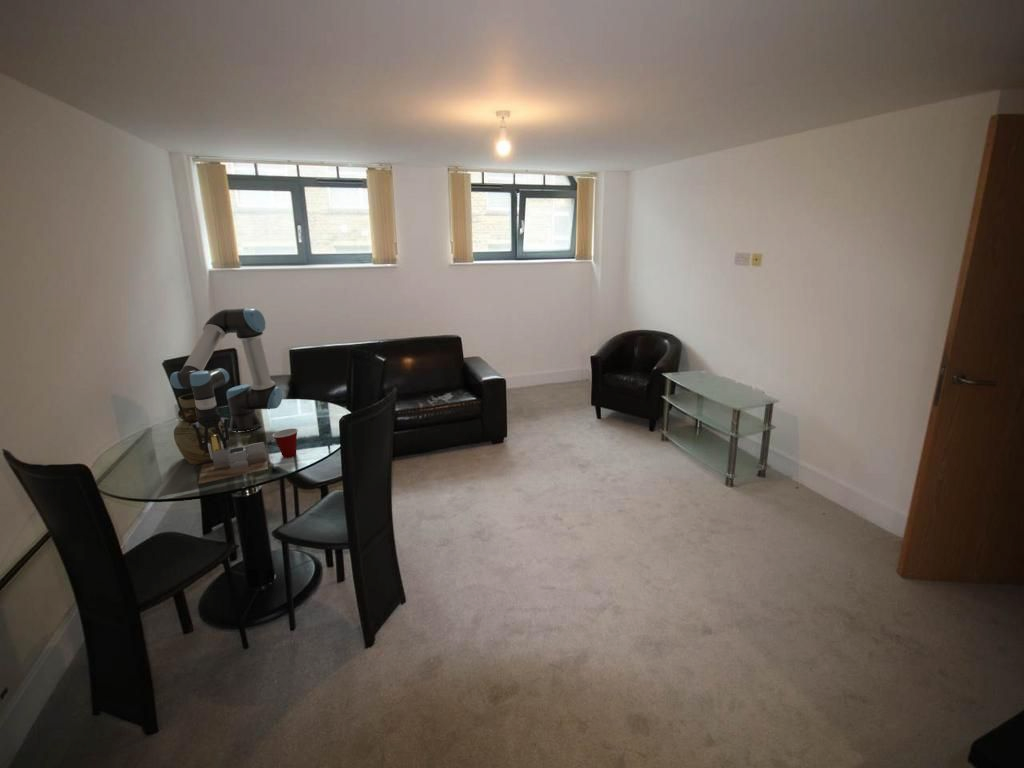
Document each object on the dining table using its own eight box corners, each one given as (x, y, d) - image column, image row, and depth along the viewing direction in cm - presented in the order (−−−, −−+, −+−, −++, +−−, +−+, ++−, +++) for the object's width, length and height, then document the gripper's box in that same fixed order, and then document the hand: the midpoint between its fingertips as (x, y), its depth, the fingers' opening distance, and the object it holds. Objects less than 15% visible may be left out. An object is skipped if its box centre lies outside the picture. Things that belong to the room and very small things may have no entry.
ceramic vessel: (226, 462, 221) (212, 400, 213) (174, 469, 216) (157, 406, 207) (237, 446, 239) (224, 388, 230) (188, 452, 234) (174, 393, 225)
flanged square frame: (215, 468, 213) (211, 452, 210) (248, 461, 218) (245, 445, 216) (214, 474, 207) (210, 457, 205) (248, 467, 213) (245, 451, 210)
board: (202, 467, 217) (202, 465, 217) (267, 454, 229) (266, 452, 228) (198, 486, 200) (198, 483, 200) (268, 471, 211) (268, 468, 211)
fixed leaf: (231, 465, 216) (228, 448, 213) (267, 458, 222) (263, 441, 219) (231, 471, 210) (227, 454, 208) (267, 463, 216) (264, 446, 214)
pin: (216, 464, 217) (209, 435, 213) (224, 462, 219) (217, 433, 215) (215, 467, 215) (209, 437, 211) (224, 465, 216) (217, 436, 212)
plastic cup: (292, 449, 234) (288, 425, 230) (306, 453, 228) (302, 429, 225) (271, 457, 225) (266, 433, 222) (285, 462, 219) (281, 437, 216)
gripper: (182, 413, 202) (194, 464, 209) (229, 405, 209) (240, 455, 216) (184, 408, 208) (196, 458, 215) (230, 401, 216) (240, 449, 222)
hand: (218, 456), depth 215 cm, fingers open, 4 cm apart
